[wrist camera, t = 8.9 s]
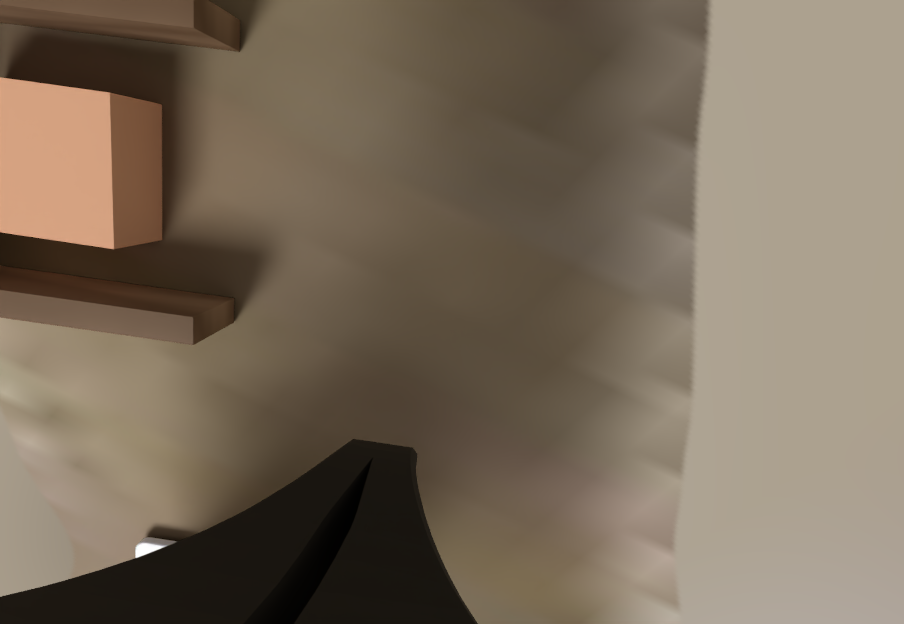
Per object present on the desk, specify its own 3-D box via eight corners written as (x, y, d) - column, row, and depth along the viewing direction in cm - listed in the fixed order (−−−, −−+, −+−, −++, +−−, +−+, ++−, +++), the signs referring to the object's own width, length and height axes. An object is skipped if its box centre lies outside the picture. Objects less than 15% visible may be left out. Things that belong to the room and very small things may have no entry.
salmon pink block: (166, 239, 21) (113, 248, 18) (19, 217, 21) (-56, 223, 18) (165, 105, 20) (109, 92, 17) (10, 83, 20) (-72, 67, 17)
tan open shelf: (233, 322, 21) (193, 345, 18) (-29, 285, 22) (-110, 301, 19) (240, 20, 18) (193, -10, 15) (-61, -16, 19) (-162, -51, 16)
